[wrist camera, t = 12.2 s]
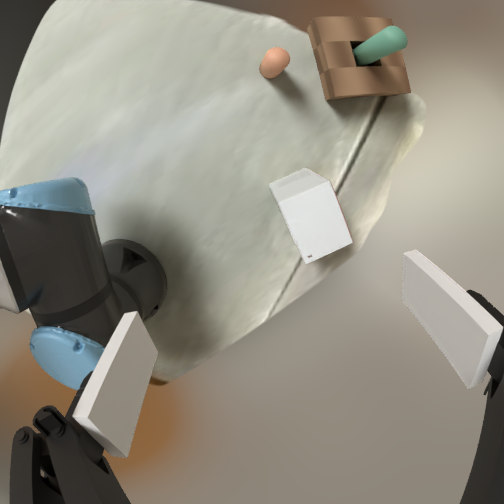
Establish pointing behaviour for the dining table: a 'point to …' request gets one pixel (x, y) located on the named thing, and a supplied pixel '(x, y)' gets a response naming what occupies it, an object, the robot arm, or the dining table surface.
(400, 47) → the long dowel
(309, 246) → the small box
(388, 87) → the collar block
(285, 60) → the short dowel
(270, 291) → the dining table surface
